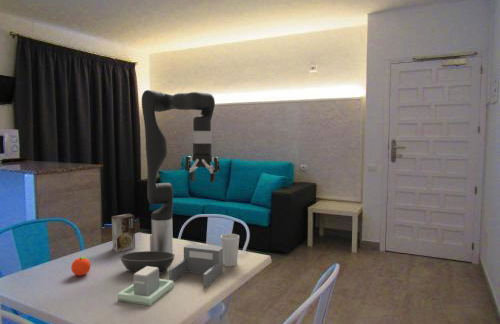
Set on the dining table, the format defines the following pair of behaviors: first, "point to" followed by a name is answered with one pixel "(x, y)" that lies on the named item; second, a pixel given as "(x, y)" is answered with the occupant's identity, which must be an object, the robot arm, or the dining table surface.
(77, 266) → the clementine
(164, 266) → the bowl
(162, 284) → the tray
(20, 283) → the dining table surface
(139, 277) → the white block
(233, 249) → the cup
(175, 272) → the bay
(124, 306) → the dining table surface
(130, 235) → the coffee box
